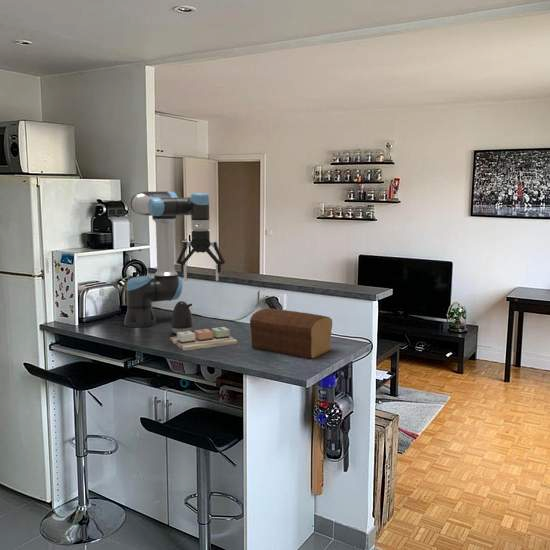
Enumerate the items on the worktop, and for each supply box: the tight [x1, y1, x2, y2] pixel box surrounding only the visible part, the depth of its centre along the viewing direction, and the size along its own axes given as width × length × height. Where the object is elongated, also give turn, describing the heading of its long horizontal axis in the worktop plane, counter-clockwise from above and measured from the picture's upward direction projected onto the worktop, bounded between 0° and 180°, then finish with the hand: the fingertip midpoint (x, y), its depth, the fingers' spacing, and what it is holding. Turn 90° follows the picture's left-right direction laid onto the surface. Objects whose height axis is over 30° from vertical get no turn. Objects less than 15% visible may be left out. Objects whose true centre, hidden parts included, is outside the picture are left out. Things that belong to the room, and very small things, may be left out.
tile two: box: [194, 328, 213, 339], centre depth 250 cm, size 6×6×3 cm
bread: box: [249, 307, 333, 359], centre depth 239 cm, size 18×30×16 cm, turn 56°
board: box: [169, 335, 238, 351], centre depth 251 cm, size 18×24×2 cm
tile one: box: [176, 330, 195, 342], centre depth 247 cm, size 6×6×3 cm
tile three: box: [211, 326, 231, 337], centre depth 254 cm, size 6×6×3 cm
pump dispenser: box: [170, 300, 194, 335], centre depth 265 cm, size 10×10×15 cm
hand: (201, 280), depth 245 cm, fingers open, 13 cm apart
